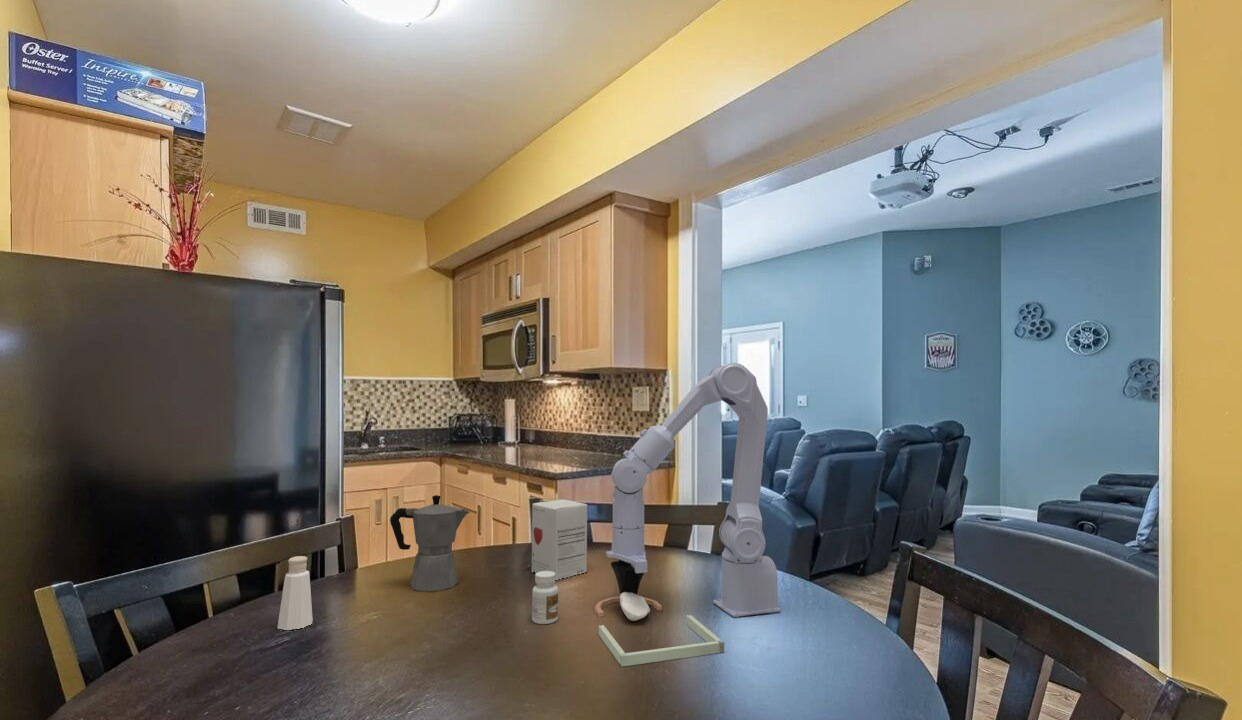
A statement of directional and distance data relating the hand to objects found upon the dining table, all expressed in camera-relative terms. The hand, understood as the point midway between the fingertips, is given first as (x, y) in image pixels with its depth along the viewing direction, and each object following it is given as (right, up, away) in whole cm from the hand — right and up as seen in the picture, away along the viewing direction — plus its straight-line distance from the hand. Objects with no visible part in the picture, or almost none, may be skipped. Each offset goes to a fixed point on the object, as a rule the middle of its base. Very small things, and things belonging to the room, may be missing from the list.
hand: (628, 603), depth 106 cm
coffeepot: (-40, -2, +14) cm, 43 cm away
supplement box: (-15, -3, +23) cm, 28 cm away
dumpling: (+1, -1, -4) cm, 4 cm away
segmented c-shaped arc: (-1, -1, +2) cm, 2 cm away
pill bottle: (-14, -1, -5) cm, 15 cm away
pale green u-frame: (+5, 0, -14) cm, 15 cm away
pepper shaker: (-55, -1, -7) cm, 56 cm away
